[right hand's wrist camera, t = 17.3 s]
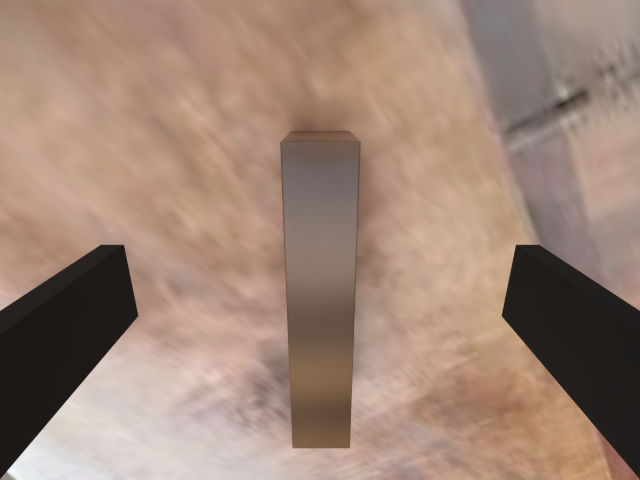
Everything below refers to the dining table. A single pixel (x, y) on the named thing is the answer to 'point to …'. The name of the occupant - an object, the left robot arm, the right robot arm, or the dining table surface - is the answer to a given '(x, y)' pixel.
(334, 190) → the bar
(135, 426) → the dining table surface
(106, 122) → the dining table surface
